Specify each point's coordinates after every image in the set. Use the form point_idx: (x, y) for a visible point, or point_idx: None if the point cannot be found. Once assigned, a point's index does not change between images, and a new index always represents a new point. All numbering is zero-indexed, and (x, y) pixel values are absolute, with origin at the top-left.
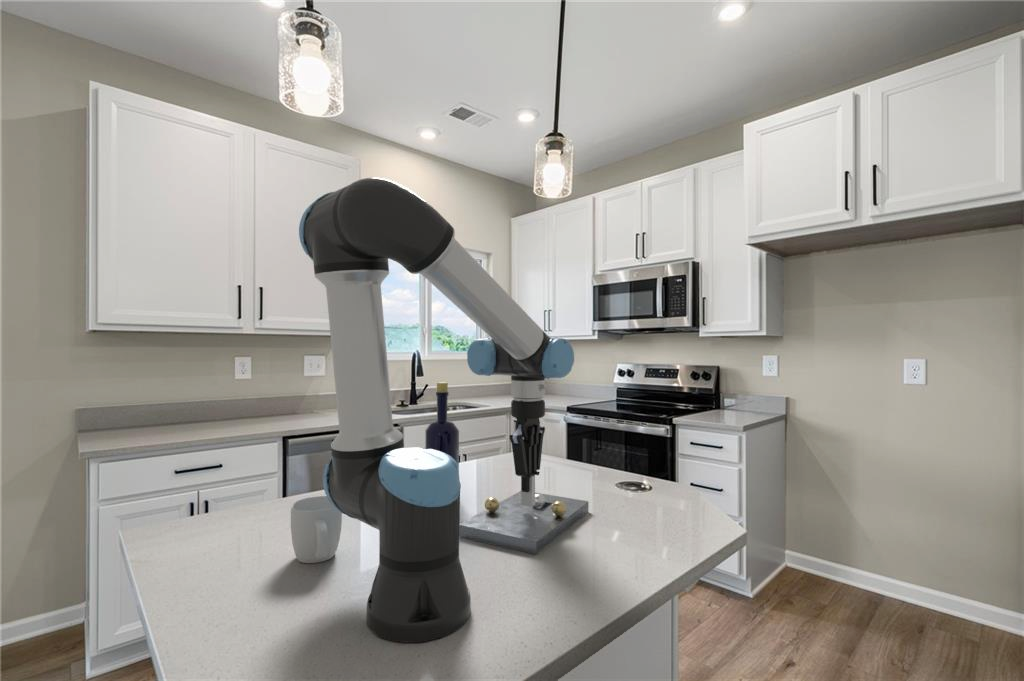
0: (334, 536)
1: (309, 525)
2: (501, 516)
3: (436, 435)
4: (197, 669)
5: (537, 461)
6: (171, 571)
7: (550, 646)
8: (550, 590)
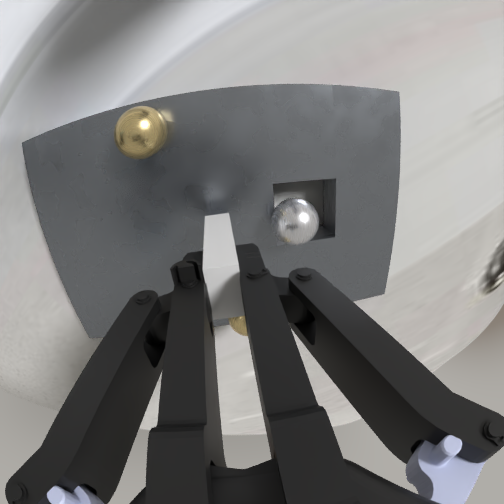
0: None
1: None
2: (134, 183)
3: None
4: None
5: (306, 341)
6: None
7: (17, 392)
8: (54, 371)
